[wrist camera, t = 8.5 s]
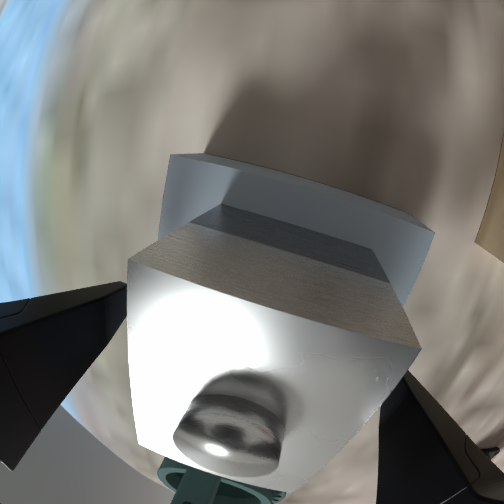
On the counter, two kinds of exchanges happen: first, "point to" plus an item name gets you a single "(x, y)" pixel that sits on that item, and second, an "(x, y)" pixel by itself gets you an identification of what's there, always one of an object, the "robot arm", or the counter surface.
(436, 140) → the counter surface
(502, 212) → the stand oak
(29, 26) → the counter surface
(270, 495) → the bracket
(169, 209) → the stand slate
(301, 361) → the block
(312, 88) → the counter surface
